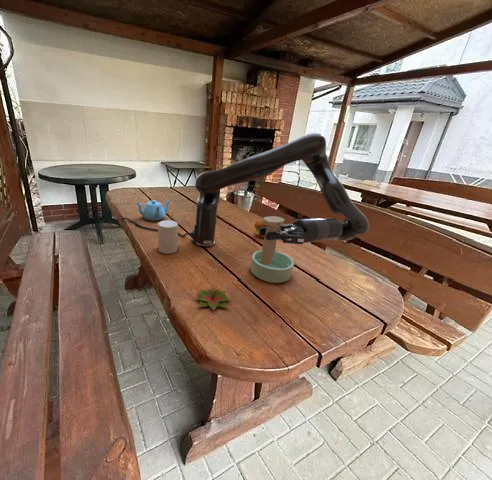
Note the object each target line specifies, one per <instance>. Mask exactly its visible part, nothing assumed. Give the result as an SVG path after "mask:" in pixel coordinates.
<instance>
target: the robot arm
mask: <svg viewBox="0 0 492 480" xmlns="http://www.w3.org/2000/svg"><path fill="white" fill-rule="evenodd" d="M299 161H302V162H303V164H305V166H306V167H307V169H308V170H309V171H310V172H311V174H312V175H313V177H314V179H315V181H316V183H317V185H318V187H319V188H320V191H321V194H322V196H323V198H324V200H325V202H326V204H327V207H328V208H329V210H330V212H331V214H333V215H334V216H338V215H341V214H342V215H343V216H344V217H345V219H343V220H339V219H337V218H332V217H331V218H319V217H318V218H301V219H296V220H295V221H294V222H293V223H284V224H283V225H282V226H279V227H278V232H267V233H266V229H267V227H261V228H260V229H259V234H260V235H265V234H266V237H265V239H266V240H276V241H279V242H280V241H282V243H284V244H292V245H304V244H306V243H308V244H309V243H319V242H323V241H340V242H346V241H350V240H351V241H352V240H353V239H355V238H358V237H361V236H362V235H365V234H366V233H368V232H369V229H370V222H369V219H368V218H367V216H365V214H364V213H363V212H362V211H361V210H360V209H359V208H358V207H357V205H355V204H354V202H352V200H351V198H350V195H349V194H348V192H347V190H346V188H345V186H344V185H343V184H342V181H340V179H339V178H338V176H337V175H336V174H335V173H334V171H333V169H332V167H331V164H330V163H329V162H330V161H329V159H328V155H327V140H326V137H325V136H324V135H323V134H321V133H317V132H312V133H308V134H305V135H303V136H300V137H299V138H296V139H294V140H292V141H289V142H288V143H285V144H283V145H280V146H277V147H274V148H270V149H268V150H265V151H262V152H258V153H256V154H253V155H250V156H247V157H245V158H242V159H240V160H238V161H236V162H234V163H232V164H230V165H228V166H226V167H223V168H220V169H217V170H212V169H209V170H205V171H204V172H203V171H202V172H201V173H200V174H198V176H197V177H196V179H195V183H194V186H195V189H196V190H197V192H199V195H198V199H197V200H196V209H195V210H196V214H195V223H194V227H193V228H194V229H192V231H191V232H186V233H184V234H180V233H179V232H178V236H179V237H182V238H184V237H186V236H190V239H193V245H197V246H199V247H205V248H206V247H207V248H208V247H213V246H214V245H215V241H216V240H215V238H216V228H217V217H218V216H217V215H218V205H219V204H218V202H219V200H220V197H221V195H220V194H221V190H223V189H225V188H227V187H230V186H234V185H239V184H243V183H247V182H248V183H249V182H251V181H256V180H259V179H262V178H266V177H267V176H270V175H271V174H274V173H275V172H277V171H278V170H279V169H281V168H283V167H284V166H286V165H288V164H291V163H295V162H299ZM219 203H220V202H219ZM123 220H127V221H129V222H130V223H133V224H134V225H136V226H137V227H139V228H142V229H145V230H150V231H157V232H158V228H152V227H147V226H143V225H142V224H139V223H137V222H136V221H134V220H132V219H130V218H128V217H122V218H121V219H120V221H123Z"/></svg>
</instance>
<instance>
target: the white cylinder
mask: <svg viewBox="0 0 492 480" xmlns="http://www.w3.org/2000/svg"><path fill="white" fill-rule="evenodd" d="M157 226H158V227H157V229H158V231H157V233H158V234H157V235H158V242H157V243H158V244H157V245H158V252H160V253H162V254H166V255H168V254H174V253H177V252H178V238H179V237H178V236H179V235H178V233H179V232H178V231H179V223H178V221H175V220H160V221H159V222H158V223H157Z"/></svg>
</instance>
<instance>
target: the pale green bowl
mask: <svg viewBox="0 0 492 480" xmlns="http://www.w3.org/2000/svg"><path fill="white" fill-rule="evenodd" d="M261 259H262V249H261V250H257V251H255V252H253V254H252V256H251V262H250V272H251V274H252V275H253V276H254V277H256V278H257V279H259V280H260V281H261V280H262V281H264V282H267V283H272V284H278V283H285V282H287V281H289V280H290V279H291V278H292V275H293V271H294V266H295V262H294V260H293V258H292V257H290V256H289V255H287V254H285V253H283V252H280V251H277V250H275V253H274V256H273V259H272V263H271V264H270V265H264V264H263V263H261Z"/></svg>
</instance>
